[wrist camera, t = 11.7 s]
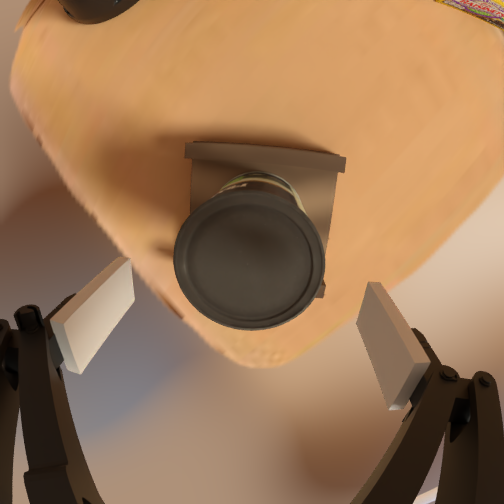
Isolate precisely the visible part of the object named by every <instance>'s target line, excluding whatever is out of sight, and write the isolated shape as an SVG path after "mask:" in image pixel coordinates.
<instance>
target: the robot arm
mask: <svg viewBox="0 0 504 504" xmlns="http://www.w3.org/2000/svg"><path fill="white" fill-rule="evenodd" d="M58 1H59V3H60V4H61V5H62V6H63V8H64V10H65V12H66V13H67V15H68V16H69V17H71V18H72V19H74V20H76V21H79V22H81V23H84V24H96V23H101V22H104V21H107V20H109V19H112V18H114V17H116V16H118V15H119V14H121V13H123V12H124V11H126V10H127V9H129V8H130V7H132V6H133V5H134V4H135V3H136V2H138V1H139V0H58ZM134 301H135V298H134V290H133V281H132V272H131V260H130V258H126V257H118V258H117V259H115V260H114V261H113V262H112V263H111V264H110V265H108V266H107V267H106V268H105V269H104V270H103V271H102V272H100V273H99V274H98V275H97V276H96V277H95V278H94V279H93V280H91V281H90V282H89V283H88V284H87V285H86V286H85V287H84V288H83V289H82V290H80V291H79V292H78V293H77V294H73V295H71V296H69V297H67V298H65V299H64V301H62V302H61V304H59V305H58V306H57V307H56V309H54V310H53V311H52V312H51V313H50V314H48V316H46V318H44V319H42V315H41V312H40V309H39V307H38V306H36V305H25V306H22V307H21V308H19V309H18V310H17V311H16V312H15V313H14V318H15V321H16V323H17V326H18V328H19V330H14V329H11V328H10V326H9V323H8V321H7V320H4V319H0V504H12V476H13V457H14V456H13V455H14V445H15V435H16V427H17V420H18V414H19V408H20V412H21V421H22V429H23V437H24V444H25V450H26V455H27V461H28V465H29V471H27V472H25V473H24V483H25V487H26V491H27V495H28V499H29V502H30V504H105V503H104V502H103V500H102V499H101V497H100V495H99V493H98V491H97V489H96V486H95V483H94V481H93V479H92V476H91V474H90V471H89V469H88V466H87V463H86V460H85V457H84V454H83V452H82V449H81V445H80V442H79V439H78V436H77V433H76V430H75V426H74V422H73V419H72V415H71V411H70V407H69V403H68V398H67V394H66V390H65V384H64V379H63V374H62V370H61V368H60V364H61V363H62V362H63V361H64V362H65V365H66V367H67V369H68V370H69V371H72V372H75V373H78V374H81V373H82V372H83V370H84V369H85V368H86V366H87V365H88V363H89V362H90V360H91V359H92V358H93V356H94V355H95V353H96V352H97V351H98V349H99V348H100V346H101V345H102V344H103V342H104V341H105V339H106V338H107V337H108V335H109V334H110V333H111V331H112V330H113V329H114V327H115V326H116V324H117V323H118V322H119V320H120V319H121V318H122V317H123V315H124V314H125V313H126V311H127V310H128V308H129V307H130V306H131V305H132V303H133V302H134ZM356 324H357V327H358V329H359V332H360V334H361V337H362V339H363V342H364V344H365V347H366V350H367V352H368V355H369V357H370V360H371V362H372V365H373V368H374V371H375V373H376V376H377V379H378V381H379V384H380V387H381V390H382V393H383V395H384V399H385V401H386V404H387V407H388V410H397V409H404V407H405V406H406V404H407V402H408V401H409V399H410V402H411V404H412V407H411V409H410V410H409V412H408V413H407V415H406V416H405V418H404V419H403V421H402V422H403V423H402V425H401V427H400V429H399V431H398V432H397V434H396V436H395V438H394V440H393V441H392V443H391V445H390V446H389V448H388V450H387V451H386V453H385V455H384V456H383V458H382V459H381V461H380V462H379V464H378V465H377V467H376V468H375V470H374V471H373V473H372V475H371V476H370V477H369V479H368V480H367V482H366V483H365V484H364V486H363V487H362V489H361V490H360V491H359V493H358V494H357V495H356V497H355V498H354V499H353V500H352V502H351V503H350V504H413V502H414V500H415V498H416V496H417V494H418V493H419V491H420V489H421V487H422V485H423V483H424V480H425V478H426V476H427V474H428V472H429V470H430V467H431V465H432V463H433V461H434V458H435V456H436V453H437V451H438V448H439V446H440V443H441V441H442V438H443V435H444V432H445V439H444V450H443V459H442V467H441V474H440V480H439V486H438V491H437V497H436V501H435V504H504V431H503V422H502V414H501V407H500V401H499V395H498V390H497V384H496V381H495V379H494V378H493V377H492V375H490V374H489V373H487V372H483V371H478V372H476V373H475V375H474V376H473V377H472V379H464V378H460V377H459V375H458V373H457V372H456V371H455V370H454V369H453V368H451V367H449V366H446V365H442V364H441V362H440V361H439V359H438V357H437V356H436V354H435V353H434V351H433V350H432V348H431V346H430V345H429V343H427V340H426V338H425V337H424V335H423V334H422V333H421V332H419V331H418V330H417V329H416V328H410V327H409V325H408V323H407V322H406V320H405V319H404V317H403V316H402V314H401V313H400V311H399V309H398V308H397V306H396V305H395V303H394V302H393V300H392V299H391V297H390V296H389V295H388V293H387V291H386V290H385V289H384V287H383V286H382V284H381V283H379V282H368V284H367V288H366V291H365V295H364V299H363V302H362V305H361V309H360V312H359V316H358V319H357V322H356Z"/></svg>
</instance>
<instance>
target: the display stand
mask: <svg viewBox="0 0 504 504" xmlns="http://www.w3.org/2000/svg"><path fill="white" fill-rule="evenodd" d="M185 158H191V159H192V174H191V199H190V214H191V213H192V212H193V211H194V210H195V209H196V208H197V207H199V206H200V205H201V204H203V203H204V202H206V201H207V200H209V199H210V198H211V197H213V195H215V194H216V193H217V192H218V191H219V190H221V188H222V187H223V186H224V185H225V184H226V183H227V182H229V181H230V180H231V179H233V178H234V177H236V176H238V175H241V174H243V173H247V172H252V171H261V172H268V173H272V174H274V175H277V176H279V177H281V178H282V179H284V180H285V181H287V182H288V183H289V184H290V185H291V186H292V187H293V188H294V189H295V191H296V192H297V194H298V196H299V198H300V200H301V203H302V205H303V208H304V210H305V211H306V214H307V215H308V217H309V219H310V220H311V221H312V223H313V224H314V225H315V227H316V229H317V231H318V233H319V235H320V237H321V240H322V244H323V247H324V252H325V253H326V248H327V242H328V236H329V230H330V223H331V217H332V210H333V203H334V196H335V189H336V181H337V173H338V172H341V173H344V172H345V164H346V157H341V156H340V155H339V154H333V153H326V152H319V151H312V150H304V149H296V148H287V147H278V146H267V145H256V144H243V143H226V142H203V141H193V143H185ZM325 287H326V285H325V282H324V280H323V281H322V285H321V287H320V289H319V291H318V293H317V295H316V297H315V298H323V296H324V291H325Z"/></svg>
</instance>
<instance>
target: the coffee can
mask: <svg viewBox="0 0 504 504" xmlns="http://www.w3.org/2000/svg"><path fill="white" fill-rule="evenodd" d="M173 264H174V270H175V275H176V278H177V281H178V283H179V286H180V288H181V290H182V292H183V293H184V295H185V296H186V298H187V299H188V300H189V302H190V303H191V304H192V305H193V306H194V307H195V308H196V309H197V310H198V311H199V312H200V313H202V314H203V315H204V316H206V317H207V318H209V319H211V320H212V321H214V322H216V323H218V324H221V325H223V326H226V327H230V328H234V329H239V330H250V331H253V330H264V329H269V328H274V327H277V326H280V325H282V324H284V323H286V322H289V321H290V320H292V319H294V318H295V317H297V316H298V315H300V314H301V313H302V312H303V311H304V310H305V309H306V308H307V307H308V306H309V305H310V304H311V302H312V301H313V300H314V298H315V297H316V295H317V293H318V291H319V289H320V287H321V285H322V281H323V277H324V272H325V252H324V247H323V244H322V240H321V237H320V235H319V233H318V231H317V229H316V227H315V225H314V224H313V223H312V221H311V220H310V219H309V217H308V215H307V214H306V211H305V210H304V208H303V205H302V203H301V200H300V198H299V196H298V194H297V192H296V191H295V189H294V188H293V187H292V186H291V185H290V184H289V183H288V182H287V181H285V180H284V179H282V178H281V177H279V176H277V175H274V174H272V173H268V172H261V171H252V172H247V173H243V174H241V175H238V176H236V177H234V178H233V179H231V180H230V181H229V182H227V183H226V184H225V185H224V186H223V187H222V188H221V190H219V191H218V192H217V193H216V194H215V195H213V197H211V198H210V199H209V200H207V201H206V202H204V203H203V204H201V205H200V206H199V207H197V208H196V209H195V210H194V211H193V212H192V213H191V214H190V215H189V217H188V218H187V219H186V221H185V222H184V223H183V225H182V227H181V229H180V231H179V233H178V236H177V238H176V242H175V246H174V256H173Z"/></svg>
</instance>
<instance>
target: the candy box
mask: <svg viewBox="0 0 504 504" xmlns="http://www.w3.org/2000/svg"><path fill="white" fill-rule="evenodd" d="M435 1H436V2H439V3H441V4H444V5H447V6H450V7H452V8H455V9H457V10H460V11H462V12H465V13H467V14H469V15H472V16H474V17H476V18H478V19H480V20H483V21H485V22H487V23H489V24H491V25H493V26H495V27H497V28H499V29H501V30H503V31H504V0H435Z"/></svg>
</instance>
